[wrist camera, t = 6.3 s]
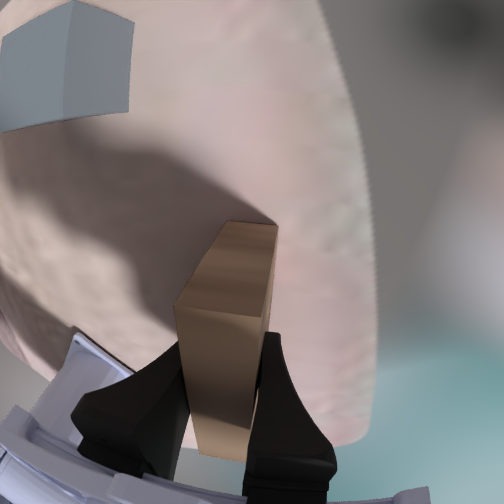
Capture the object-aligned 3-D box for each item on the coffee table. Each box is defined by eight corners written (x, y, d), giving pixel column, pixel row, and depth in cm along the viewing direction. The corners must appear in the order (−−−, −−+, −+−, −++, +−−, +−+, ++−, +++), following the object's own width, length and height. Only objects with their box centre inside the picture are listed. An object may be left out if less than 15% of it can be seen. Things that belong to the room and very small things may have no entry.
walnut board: (263, 369, 19) (247, 462, 12) (226, 364, 19) (199, 454, 13) (278, 225, 14) (260, 317, 8) (226, 220, 14) (173, 304, 8)
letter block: (135, 23, 11) (73, -1, 6) (129, 112, 13) (62, 118, 8) (63, 43, 11) (1, 38, 7) (59, 121, 13) (-5, 134, 9)
